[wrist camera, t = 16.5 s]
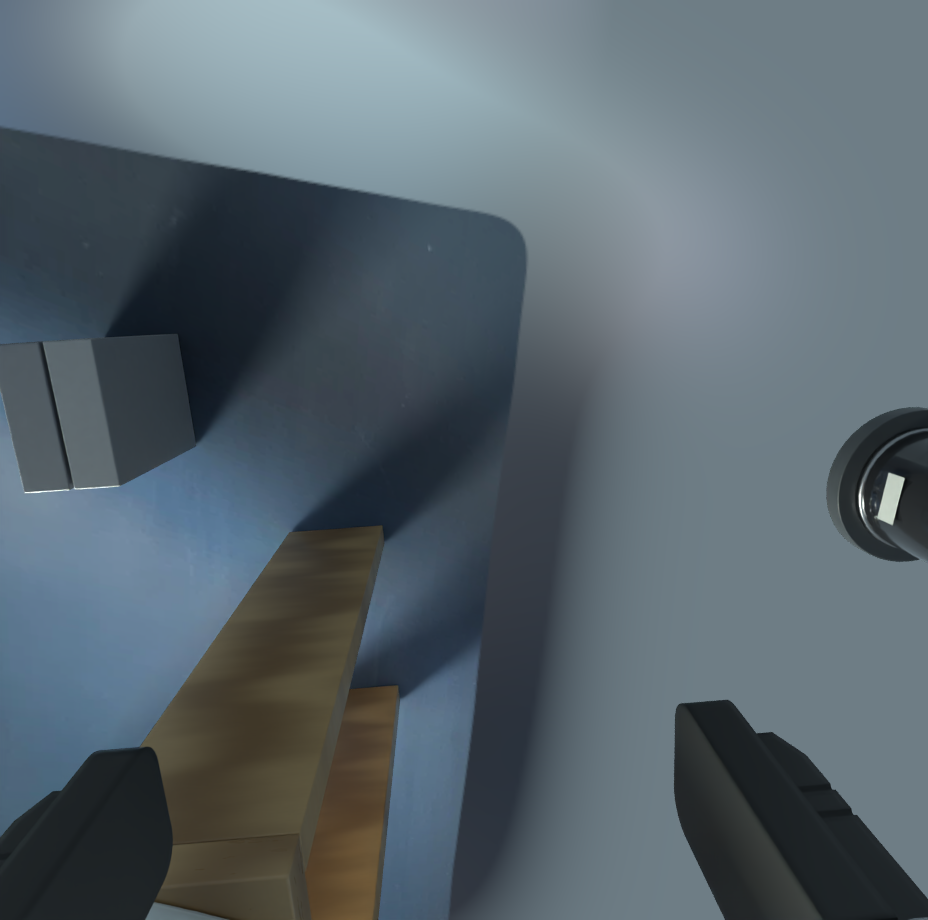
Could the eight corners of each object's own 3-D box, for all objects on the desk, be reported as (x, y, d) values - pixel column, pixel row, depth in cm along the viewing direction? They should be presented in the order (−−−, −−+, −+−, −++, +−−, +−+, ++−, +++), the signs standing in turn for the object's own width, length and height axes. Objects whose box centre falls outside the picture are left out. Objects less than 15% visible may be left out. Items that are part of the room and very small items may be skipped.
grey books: (178, 333, 43) (90, 338, 32) (196, 446, 44) (120, 486, 34) (102, 338, 42) (-11, 345, 32) (123, 451, 44) (23, 493, 34)
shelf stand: (382, 525, 46) (299, 832, 19) (400, 701, 50) (352, 1184, 22) (289, 532, 46) (64, 853, 18) (313, 708, 49) (153, 1204, 22)
